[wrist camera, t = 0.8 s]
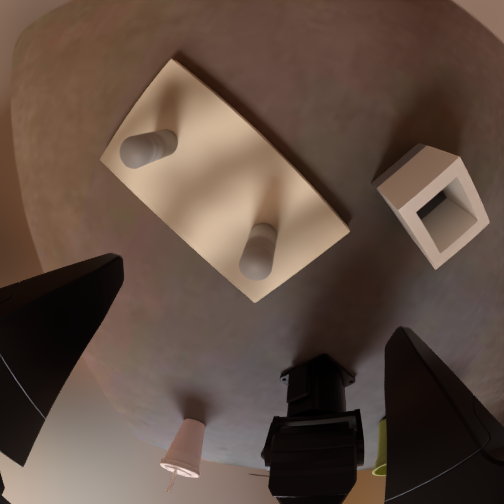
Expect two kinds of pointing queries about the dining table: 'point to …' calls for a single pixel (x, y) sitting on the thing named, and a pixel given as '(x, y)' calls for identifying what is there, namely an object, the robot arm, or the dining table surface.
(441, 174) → the sleeve
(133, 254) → the dining table surface
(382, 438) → the plant pot
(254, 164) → the pin board
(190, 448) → the smoothie
